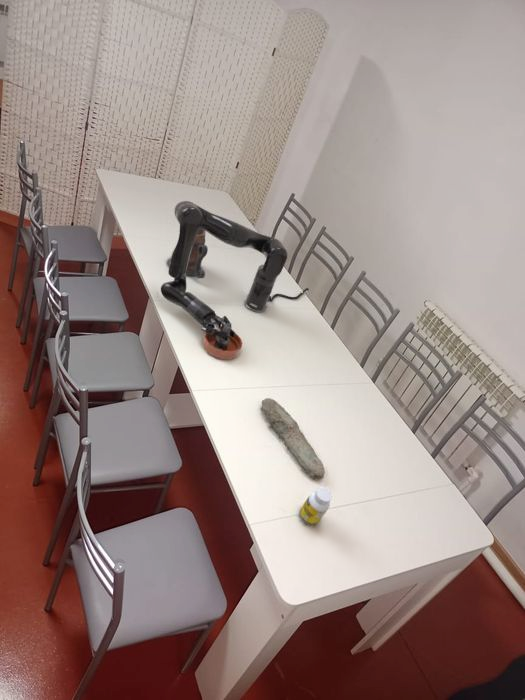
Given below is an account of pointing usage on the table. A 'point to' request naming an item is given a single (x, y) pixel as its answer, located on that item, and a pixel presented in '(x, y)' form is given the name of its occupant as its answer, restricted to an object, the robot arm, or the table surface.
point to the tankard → (196, 256)
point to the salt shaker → (221, 342)
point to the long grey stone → (293, 438)
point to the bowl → (229, 353)
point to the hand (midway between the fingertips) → (230, 336)
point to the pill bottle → (315, 506)
